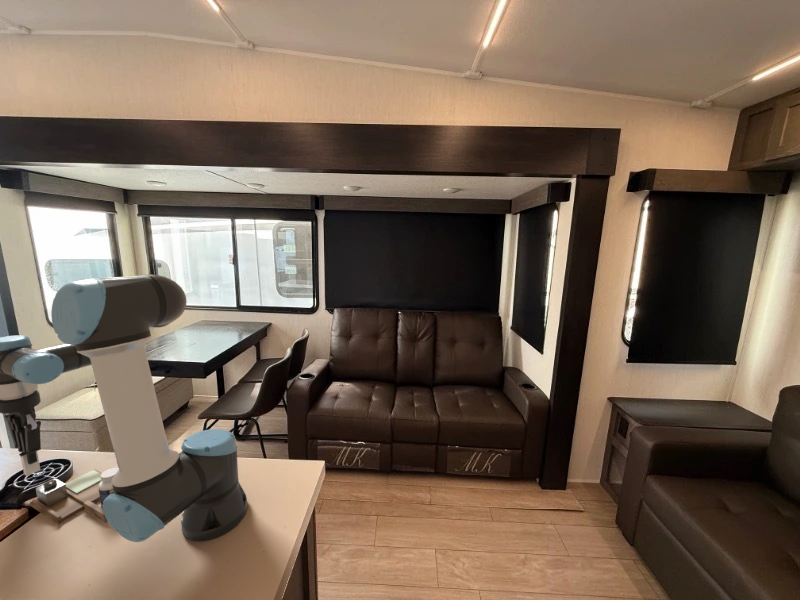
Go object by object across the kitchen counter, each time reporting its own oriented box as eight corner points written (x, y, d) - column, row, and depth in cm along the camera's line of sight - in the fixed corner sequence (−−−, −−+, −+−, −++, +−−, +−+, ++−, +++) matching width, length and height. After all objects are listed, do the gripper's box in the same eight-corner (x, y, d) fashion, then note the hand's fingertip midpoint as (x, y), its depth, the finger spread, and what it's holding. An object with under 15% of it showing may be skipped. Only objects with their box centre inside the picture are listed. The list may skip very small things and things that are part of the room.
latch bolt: (67, 496, 89) (64, 480, 88) (47, 507, 85) (44, 491, 84) (58, 491, 91) (55, 475, 90) (38, 501, 87) (34, 485, 86)
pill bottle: (112, 513, 86) (107, 481, 84) (96, 509, 87) (91, 477, 85) (132, 498, 91) (128, 467, 89) (117, 494, 92) (112, 464, 90)
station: (143, 497, 91) (142, 490, 91) (79, 538, 78) (78, 530, 78) (95, 472, 100) (94, 465, 99) (30, 506, 87) (29, 498, 87)
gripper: (49, 393, 87) (62, 470, 92) (25, 383, 92) (39, 457, 96) (8, 405, 80) (24, 488, 85) (-16, 394, 85) (1, 473, 90)
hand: (32, 472), depth 91 cm, fingers closed
